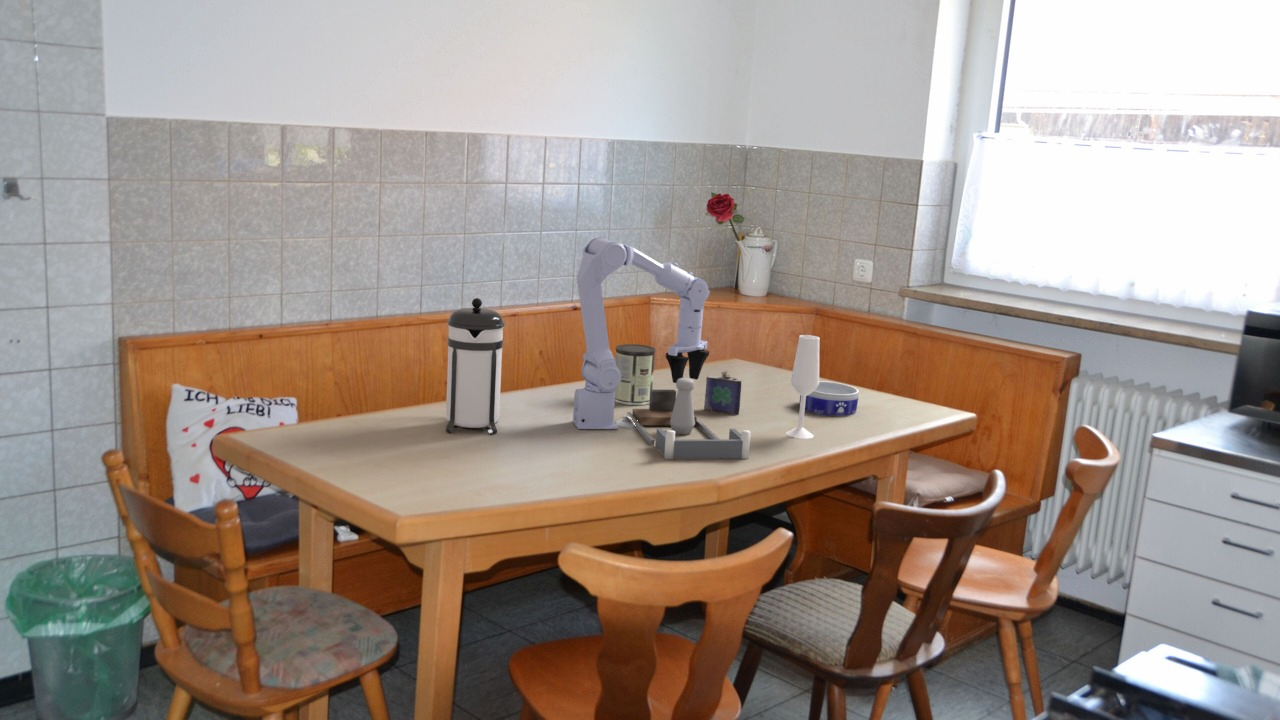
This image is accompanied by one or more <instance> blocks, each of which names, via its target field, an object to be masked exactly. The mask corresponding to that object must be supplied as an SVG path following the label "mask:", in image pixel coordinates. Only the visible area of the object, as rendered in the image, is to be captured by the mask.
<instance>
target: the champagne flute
mask: <svg viewBox="0 0 1280 720" xmlns="http://www.w3.org/2000/svg"><path fill="white" fill-rule="evenodd" d="M820 340H821V339H820V337H819V336H817V335H809V334H800V335H799V336H798V342H797V347H796V352H795V358H794V362H793V363H794V364H793V368H792V373H791V376H790V383H791V386H792V388H793V389H794V390H795V391H796V392H797V393H798V394H799V396H800V395H801V402H800V401H799V412H798V423H797V427H794V428H793V429H790V430H788V431H786V432H785V434H786V435H787V436H788V437H791V438H795V439H804V440H806V439H807V440H808V439H813V438H814V434H813V433H811V432H810V431H808V430H807V429H806V428H804V419H805V411H806V410H805V401H806V396H807V395H809V394H810V393H812V392H813V391H814V390H815V389H816V388H817V387H818V385H819V381H820Z"/></svg>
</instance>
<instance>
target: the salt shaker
mask: <svg viewBox="0 0 1280 720" xmlns="http://www.w3.org/2000/svg"><path fill="white" fill-rule="evenodd" d="M695 385H696V382H695V381H694V379H692V378H690V377H689V378H688V377H683V378H679V379H678V380H677V382H676V383H675V386H676V388H677V389H678V390H677V392H676V401H675V404H674V408H673V412H672V416H671V420H670V425H669V426H670V427H671V430H673V431H675V435H684V436H685V435H686V436H687V435H691V433H692V431H693V428H695V426H696V425H695V420H694V415H695V413H694V404H693V395H692V394H693V393H692V391H693V390H694V389H695Z"/></svg>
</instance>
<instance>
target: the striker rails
mask: <svg viewBox="0 0 1280 720" xmlns="http://www.w3.org/2000/svg"><path fill="white" fill-rule="evenodd" d="M626 416H629V417H631V418H632V420H633V422H634V423H635V425H636V427H635V429H637V431H638V432H639V433H640V434H641V436H642V437H643V438H644V439H645V440H646V442H647V443H648V444H649V445H650V446H655V443H656V439H655V438H653V436H651V434H650V433H649V432H648V431H647V430H646V428H645V427H644V425H641V424H640V423H639V422H638V421H637V419H636V418H635V417H634V416H633V415H632V412H631V411H626ZM695 426H696V427H698V429H700V430H701V432H703V434H705V435H706V436H707V437H708V438H709V439H720V438H719V437H718V436H717V435H716V434H715V433H714V432H713V431H712V430H710V429H709V428H708V426H706V425H705V424H704V423H703V422H702V421H701V420H700V419H699V418H698V417H697V421H696V425H695Z"/></svg>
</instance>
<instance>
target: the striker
mask: <svg viewBox="0 0 1280 720" xmlns="http://www.w3.org/2000/svg"><path fill="white" fill-rule="evenodd" d="M676 397H677V391H676V390H675V389H653V388H652V389H650V403H649V404H648V405H649V407H648V408H632V412H631V414H632V415H633V416H634V417H635V418H636V419H637V420H638V422H639V423H640V424H641V425H642V426H671V425H670V420H671V416H672V412H673V408H674V404H675V401H676ZM697 418H698V417H697V416H696V415H695V414H694V420H695V425H694V426H696V421H697Z"/></svg>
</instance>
